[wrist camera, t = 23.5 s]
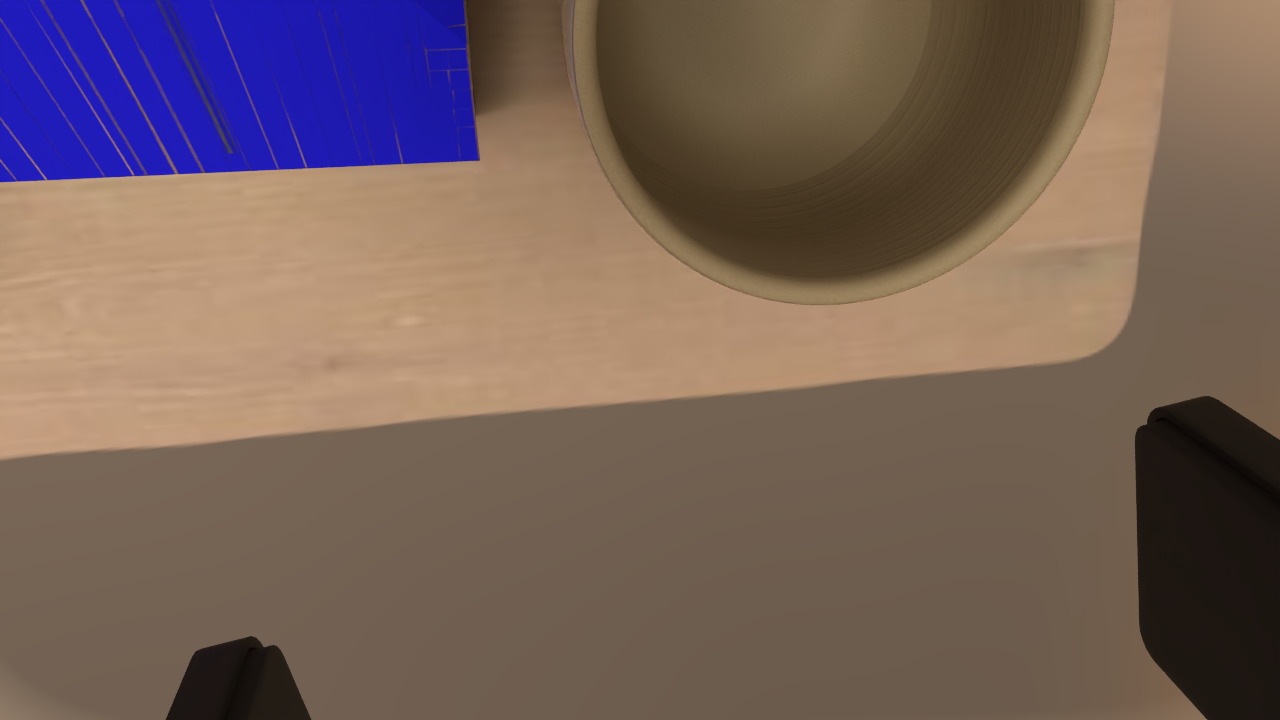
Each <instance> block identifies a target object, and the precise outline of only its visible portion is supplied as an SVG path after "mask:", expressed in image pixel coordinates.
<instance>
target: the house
mask: <svg viewBox="0 0 1280 720" xmlns="http://www.w3.org/2000/svg"><path fill="white" fill-rule="evenodd" d="M479 160H480V155H479V146H478V137H477V128H476V119H475V106H474V93H473V81H472V68H471V55H470V42H469V30H468V17H467V4H466V0H0V182H15V181H38V180H60V179H82V178H104V177H126V176H148V175H170V174H192V173H214V172H236V171H258V170H280V169H302V168H324V167H346V166H368V165H390V164H413V163H435V162H457V161H479Z"/></svg>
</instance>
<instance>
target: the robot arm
mask: <svg viewBox="0 0 1280 720" xmlns="http://www.w3.org/2000/svg"><path fill="white" fill-rule="evenodd" d="M1135 461H1136V503H1137V545H1138V588H1139V625H1140V632H1141V636H1142V639H1143V642H1144V644H1145V647H1146V649H1147V651H1148V652H1149V654H1150V656H1151V657H1152V659H1153V660H1154V661H1155V662H1156V663H1157V665H1158V666H1159V667H1160V668H1161V669H1162V670H1163V671H1164V672H1165V673H1166V675H1167V676H1168V677H1169V678H1170V679H1171V680H1172V681H1173V682H1174V683H1175V684H1176V686H1177V687H1178V688H1179V689H1180V690H1181V691H1182V692H1183V693H1184V694H1185V696H1186V697H1187V698H1188V699H1189V700H1190V701H1191V702H1192V703H1193V704H1194V705H1195V707H1196V708H1197V709H1198V710H1199V711H1200V712H1201V713H1202V714H1203V715H1204V717H1205V718H1206V719H1207V720H1280V440H1279V439H1277V438H1276V437H1274V436H1273V435H1271V434H1270V433H1268V432H1267V431H1265V430H1264V429H1262V428H1260V427H1259V426H1257V425H1256V424H1254V423H1253V422H1251V421H1250V420H1248V419H1247V418H1245V417H1243V416H1242V415H1240V414H1239V413H1237V412H1236V411H1234V410H1233V409H1231V408H1230V407H1228V406H1227V405H1225V404H1223V403H1222V402H1220V401H1219V400H1217V399H1215V398H1213V397H1210V396H1203V397H1198V398H1195V399H1191V400H1187V401H1183V402H1179V403H1175V404H1171V405H1167V406H1163V407H1159V408H1155V409H1154V410H1153V411H1152V412H1151V413H1150V415H1149V417H1148V420H1147V425H1143V426H1141V427H1139V428H1138V429H1137V432H1136V436H1135ZM166 720H311V718H310V716H309V714H308V711H307V709H306V707H305V704H304V702H303V700H302V698H301V695H300V693H299V690H298V688H297V686H296V683H295V681H294V679H293V677H292V674H291V672H290V669H289V667H288V665H287V663H286V660H285V658H284V656H283V654H282V652H281V650H280V649H279V648H278V647H277V646H275V645H272V646H268V647H263V645H262V644H261V643H260V641H259V640H258V639H257V638H255V637H252V636H250V637H246V638H243V639H238V640H234V641H230V642H227V643H222V644H218V645H214V646H210V647H207V648H203V649H200V650H198V651H196V652H195V653H194V655H193V656H192V659H191V661H190V663H189V665H188V668H187V670H186V672H185V675H184V677H183V680H182V682H181V684H180V687H179V689H178V692H177V694H176V696H175V699H174V701H173V704H172V706H171V708H170V711H169V713H168V716H167V718H166Z"/></svg>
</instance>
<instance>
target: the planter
mask: <svg viewBox="0 0 1280 720" xmlns="http://www.w3.org/2000/svg"><path fill="white" fill-rule="evenodd" d="M1114 4H1115V0H562V38H563V48H564V55H565V61H566V67H567V72H568V77H569V81H570V85H571V89H572V92H573V96H574V100H575V103H576V107H577V110H578V114H579V117H580V121H581V124H582V126H583V129H584V132H585V135H586V137H587V140H588V142H589V145H590V147H591V149H592V151H593V154H594V156H595V158H596V160H597V162H598V164H599V166H600V168H601V170H602V172H603V174H604V176H605V177H606V179H607V181H608V182H609V184H610V186H611V187H612V189H613V191H614V192H615V194H616V195H617V197H618V198H619V199H620V201H621V202H622V204H623V205H624V206H625V208H626V209H627V210H628V212H629V213H630V214H631V216H632V217H633V218H634V219H635V220H636V221H637V223H638V224H639V225H640V226H641V227H642V228H643V229H644V230H645V231H646V232H647V233H648V234H649V235H650V236H651V237H652V238H653V239H654V240H655V241H656V242H657V243H658V244H659V245H660V246H662V247H663V248H664V249H665V250H666V251H667V252H669V253H670V254H671V255H673V256H674V257H675V258H677V259H678V260H679V261H681V262H682V263H684V264H685V265H687V266H688V267H690V268H691V269H693V270H695V271H696V272H698V273H700V274H701V275H703V276H705V277H707V278H709V279H711V280H713V281H715V282H717V283H719V284H721V285H724V286H726V287H728V288H731V289H734V290H736V291H739V292H742V293H745V294H748V295H752V296H755V297H759V298H763V299H767V300H772V301H778V302H784V303H792V304H803V305H837V304H848V303H855V302H862V301H867V300H872V299H877V298H881V297H885V296H889V295H892V294H896V293H899V292H902V291H905V290H908V289H911V288H913V287H916V286H918V285H921V284H923V283H926V282H928V281H930V280H932V279H934V278H936V277H939V276H940V275H942V274H944V273H946V272H948V271H950V270H952V269H953V268H955V267H957V266H959V265H960V264H962V263H964V262H965V261H967V260H968V259H970V258H971V257H973V256H974V255H976V254H977V253H979V252H980V251H981V250H983V249H984V248H986V247H987V246H988V245H989V244H991V243H992V242H993V241H995V240H996V239H997V238H998V237H999V236H1000V235H1002V234H1003V233H1004V232H1005V231H1006V230H1007V229H1008V228H1009V227H1011V226H1012V225H1013V224H1014V223H1015V222H1016V221H1017V220H1018V219H1019V218H1020V217H1021V216H1022V215H1023V214H1024V213H1025V212H1026V211H1027V210H1028V208H1029V207H1030V206H1031V205H1032V204H1033V203H1034V202H1035V201H1036V199H1037V198H1038V197H1039V196H1040V195H1041V193H1042V192H1043V191H1044V190H1045V188H1046V187H1047V186H1048V184H1049V183H1050V182H1051V180H1052V179H1053V178H1054V176H1055V175H1056V173H1057V172H1058V170H1059V169H1060V167H1061V166H1062V164H1063V163H1064V161H1065V160H1066V158H1067V156H1068V155H1069V153H1070V151H1071V149H1072V148H1073V146H1074V144H1075V142H1076V140H1077V138H1078V136H1079V135H1080V133H1081V131H1082V129H1083V126H1084V124H1085V122H1086V120H1087V118H1088V115H1089V113H1090V110H1091V108H1092V105H1093V103H1094V100H1095V97H1096V95H1097V92H1098V89H1099V86H1100V82H1101V79H1102V76H1103V72H1104V68H1105V64H1106V60H1107V56H1108V51H1109V46H1110V40H1111V34H1112V26H1113V18H1114Z"/></svg>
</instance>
